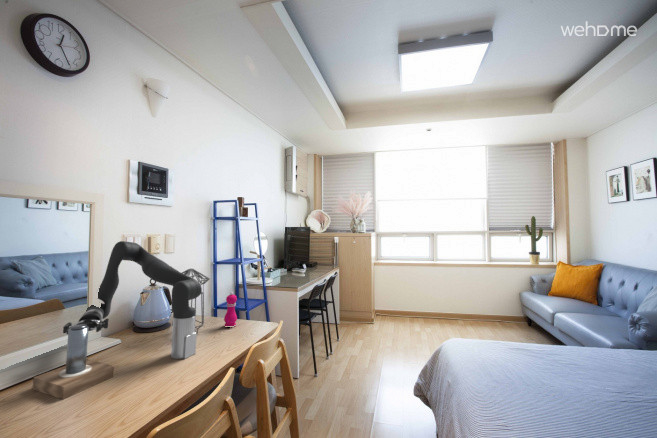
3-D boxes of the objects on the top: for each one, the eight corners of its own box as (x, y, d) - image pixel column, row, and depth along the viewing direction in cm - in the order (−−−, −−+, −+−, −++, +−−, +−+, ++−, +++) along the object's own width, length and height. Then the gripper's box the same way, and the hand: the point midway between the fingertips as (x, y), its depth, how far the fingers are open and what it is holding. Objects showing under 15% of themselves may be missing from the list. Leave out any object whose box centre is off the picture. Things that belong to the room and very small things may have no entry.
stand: (113, 376, 110) (113, 365, 110) (63, 399, 95) (64, 386, 95) (84, 368, 115) (85, 357, 115) (32, 389, 100) (33, 376, 100)
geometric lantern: (193, 326, 168) (196, 266, 169) (208, 333, 158) (212, 268, 160) (165, 334, 155) (169, 268, 156) (180, 341, 146) (184, 271, 147)
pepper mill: (224, 329, 166) (226, 293, 166) (222, 325, 172) (224, 291, 173) (237, 327, 169) (239, 292, 170) (235, 323, 175) (237, 290, 176)
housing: (89, 367, 108) (92, 323, 109) (77, 374, 103) (80, 329, 103) (74, 366, 108) (77, 323, 109) (60, 374, 102) (64, 328, 103)
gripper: (70, 312, 125) (60, 324, 111) (111, 309, 133) (106, 319, 119) (69, 330, 125) (59, 343, 111) (110, 326, 132) (105, 337, 118)
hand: (83, 331), depth 115 cm, fingers open, 8 cm apart
